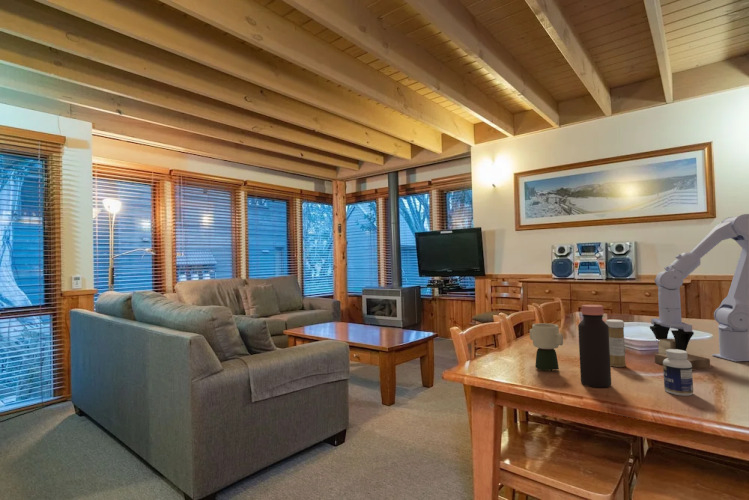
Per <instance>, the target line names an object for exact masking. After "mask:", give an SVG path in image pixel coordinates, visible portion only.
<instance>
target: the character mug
mask: <svg viewBox="0 0 749 500" xmlns="http://www.w3.org/2000/svg"><path fill="white" fill-rule="evenodd" d="M531 326H532V328H530V329H529V339H530V340H531V341H532V346H533V347H534V348H537V350H536V357H535V368H536V369H537V370H540V371H550V372H552V371H555V370H560V368H559V360H558V356H557V351H556V349H558V348H559V346H563V345H564V335H563V334H562V333H560V332H559V330H560V329H559V325H558V324H554V323H544V322H543V323H533V324H532V325H531Z"/></svg>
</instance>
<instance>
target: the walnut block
mask: <svg viewBox="0 0 749 500" xmlns="http://www.w3.org/2000/svg"><path fill="white" fill-rule="evenodd" d="M687 356H688V357H687V359H686V360H688V361H689V362H690V363H691V364H692V371H695V369H696V370H703V369H705V370H706V369H710V368H711V359H710V358H707V357H702V356H699V355H694V354H690V353H687ZM666 358H668V357H667V356H666V353H662V354H659V353H655V354H654V363H655V364H658V365H662V366H663V361H664V359H666Z"/></svg>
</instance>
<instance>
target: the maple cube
mask: <svg viewBox="0 0 749 500" xmlns="http://www.w3.org/2000/svg"><path fill="white" fill-rule="evenodd" d="M658 340H660V341H659V342H658V343H657V345H658V347H657V348H658V354H662V353H666V350H667V349H676V342H675V339H674V338H667V339H658Z"/></svg>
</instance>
